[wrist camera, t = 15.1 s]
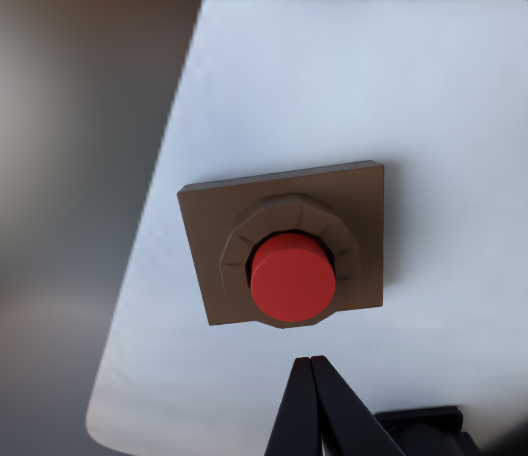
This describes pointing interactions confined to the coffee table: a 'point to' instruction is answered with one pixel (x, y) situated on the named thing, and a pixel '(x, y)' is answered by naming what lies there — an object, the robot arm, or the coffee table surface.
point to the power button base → (287, 221)
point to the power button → (292, 278)
